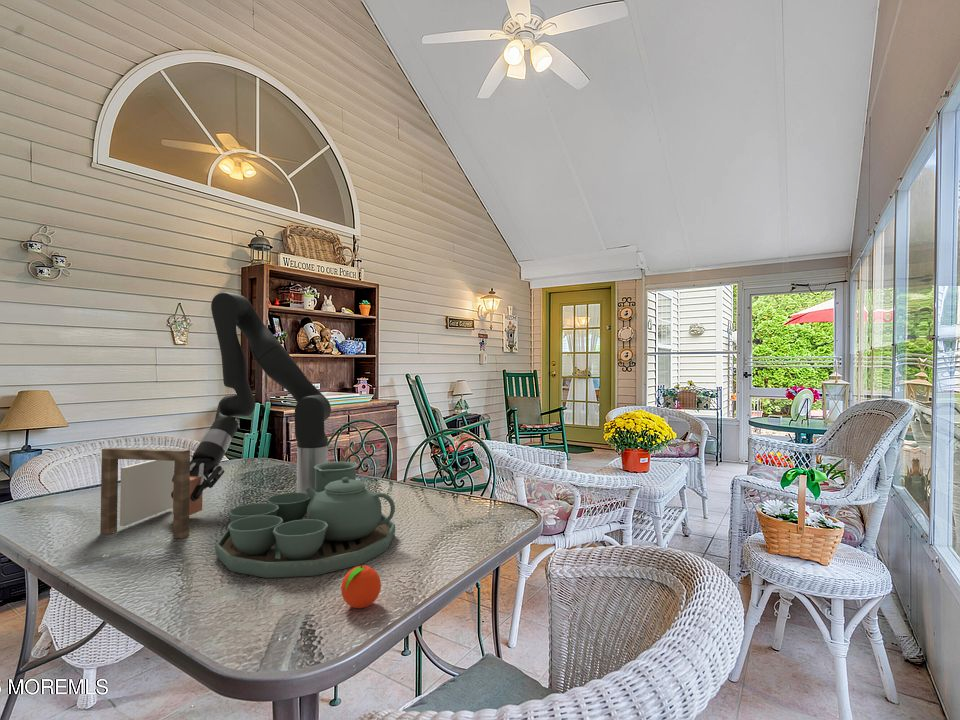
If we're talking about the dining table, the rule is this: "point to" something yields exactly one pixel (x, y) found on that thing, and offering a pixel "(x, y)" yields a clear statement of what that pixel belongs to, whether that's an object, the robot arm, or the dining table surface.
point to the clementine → (360, 586)
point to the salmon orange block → (193, 505)
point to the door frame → (177, 455)
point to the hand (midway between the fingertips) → (183, 498)
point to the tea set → (309, 528)
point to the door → (145, 490)
